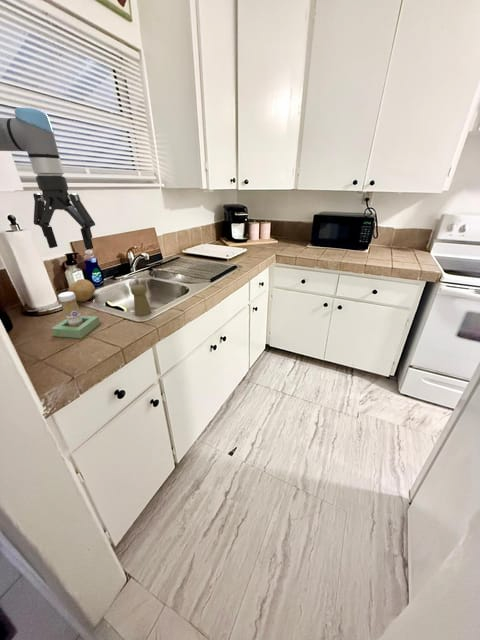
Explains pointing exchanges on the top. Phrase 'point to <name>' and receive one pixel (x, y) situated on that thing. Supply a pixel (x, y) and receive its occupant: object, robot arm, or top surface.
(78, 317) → the sprinkles bottle
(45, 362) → the top surface
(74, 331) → the holder
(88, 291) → the potato
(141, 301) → the olive chess piece
